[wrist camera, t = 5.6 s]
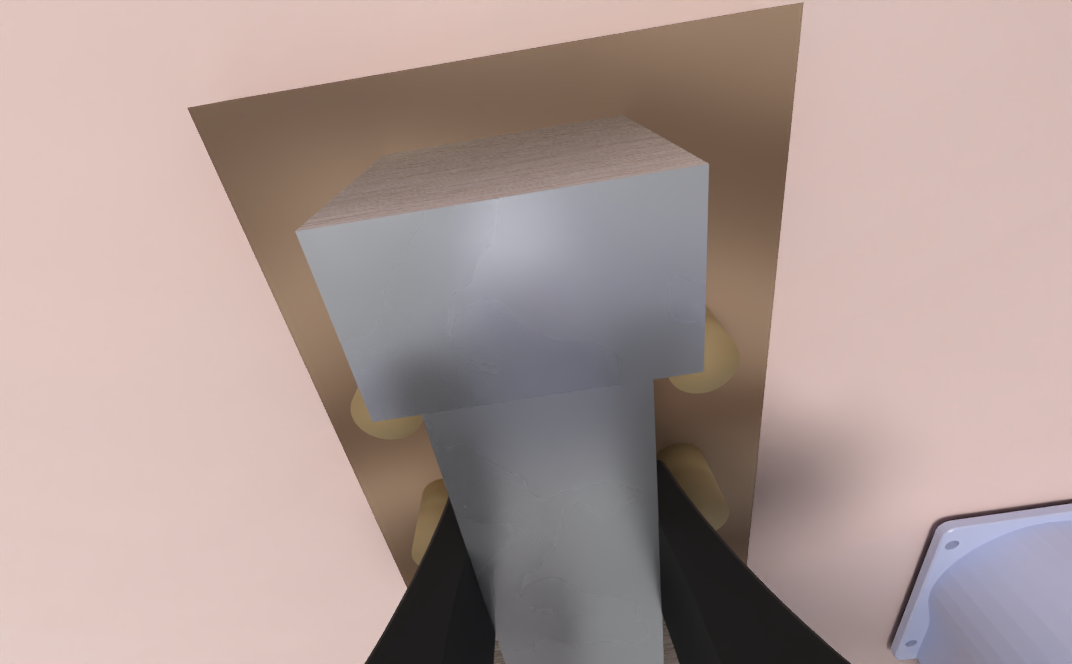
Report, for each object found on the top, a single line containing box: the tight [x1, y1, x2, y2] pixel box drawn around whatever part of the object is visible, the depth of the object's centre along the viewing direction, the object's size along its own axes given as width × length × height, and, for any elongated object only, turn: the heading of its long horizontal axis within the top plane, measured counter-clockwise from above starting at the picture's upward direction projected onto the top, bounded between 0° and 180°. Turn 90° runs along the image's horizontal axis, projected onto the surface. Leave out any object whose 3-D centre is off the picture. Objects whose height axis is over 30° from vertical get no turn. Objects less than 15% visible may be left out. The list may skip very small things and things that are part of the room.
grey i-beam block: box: [295, 115, 709, 664], centre depth 12 cm, size 15×5×5 cm, turn 8°
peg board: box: [188, 3, 803, 588], centre depth 14 cm, size 18×12×4 cm, turn 8°
